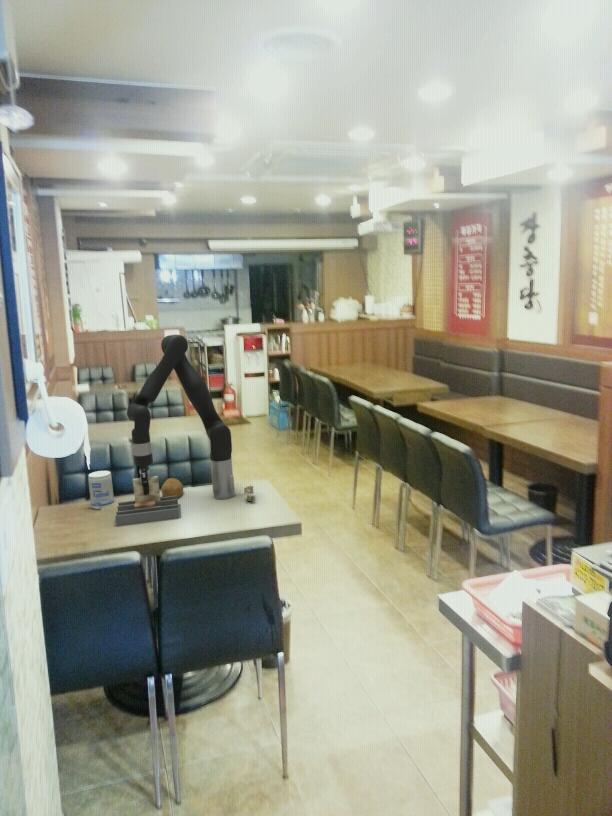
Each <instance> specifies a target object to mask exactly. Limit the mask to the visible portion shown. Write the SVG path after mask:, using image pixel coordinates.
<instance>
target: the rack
mask: <svg viewBox="0 0 612 816" xmlns="http://www.w3.org/2000/svg"><path fill="white" fill-rule="evenodd" d="M178 498H179V497H178ZM178 498H177V496H168V497H165V496H163V497H161V496H160V501H156V502H155V506H159V507H150V508H142V509H135V508H134V505H135V499H134V500H128V501H127V500H126V501H119V502H118V503H117V511H115V514H116V515H115V516H114V517H115V519H114V523H113V527H114V528H115V527H121V526H128V525H129V526H130V525H138V524H145V523H155V522H161V521H169V520H176V519H182V508H181V507H182V506H181V504H180V503H179V502H178V501H179V500H178Z"/></svg>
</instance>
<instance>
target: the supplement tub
mask: <svg viewBox="0 0 612 816" xmlns="http://www.w3.org/2000/svg"><path fill="white" fill-rule="evenodd" d="M87 479H88V487H89V497H90V498H89V499H90V506H91V508H92V509H94V510H95V509H96V510H102V507H106V506H109V505H112V504H113V503H114V502H115V499H114V488H113V478H112V472H111V471H109V470H97V471H93V472H91V473H89V474H88V478H87Z"/></svg>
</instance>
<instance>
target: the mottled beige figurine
mask: <svg viewBox="0 0 612 816" xmlns="http://www.w3.org/2000/svg"><path fill="white" fill-rule="evenodd" d="M243 492H244V495H246V498H247V499H246V501H251V502H250V503H251V504H252V503H253V501H252V500H253V499H252V496H253V495H254V492H255V491H254V486H253V485H251V484H249V486H248V485H247V484H246V486H245V487H244V489H243Z"/></svg>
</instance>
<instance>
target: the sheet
mask: <svg viewBox="0 0 612 816" xmlns="http://www.w3.org/2000/svg"><path fill="white" fill-rule="evenodd" d="M143 482H144V483H147V481H143ZM148 482H149V495H144V491H143V486H142V481H141V477H137V478H132V487H133V494H134V496H133V497H134V500H135V503H140V502H148V501H155V502H156V501H160V497H161V493H160V484H159V483H160V482H159V476H158V475H155V476H153V475H152V476H150V477H149V480H148Z"/></svg>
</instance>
